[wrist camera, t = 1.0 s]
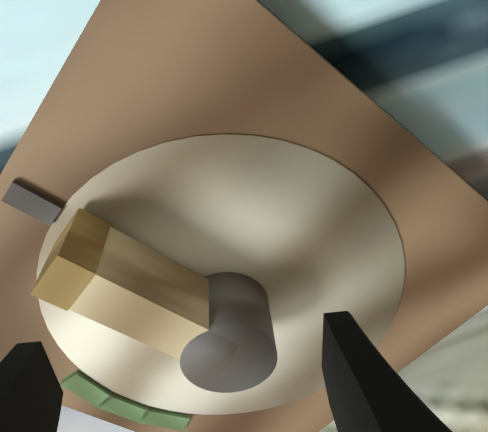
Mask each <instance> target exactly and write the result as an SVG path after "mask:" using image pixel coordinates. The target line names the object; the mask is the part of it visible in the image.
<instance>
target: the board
mask: <svg viewBox="0 0 488 432" xmlns="http://www.w3.org/2000/svg"><path fill="white" fill-rule="evenodd" d="M78 208H81V209H83V210H85V211H87V212H88V213H90V214H92V215H94V216H96V217H98V218H99V219H101V220H103V221H105V222H107V223H109V224H110V225H111V227H112V228H114V229H116V230H118V231H120V232H122V233H123V234H125V235H127V236H129V237H131V238H133V239H134V240H136V241H138V242H140V243H142V244H144V245H145V246H147V247H149V248H151V249H153V250H155V251H157V252H158V253H160V254H162V255H164V256H166V257H168V258H169V259H171V260H173V261H175V262H177V263H179V264H180V265H182V266H184V267H186V268H188V269H190V270H192V271H193V272H195V273H197V274H199V275H201V276H203V277H206V276H208V275H212V274H216V273H222V272H233V273H240V274H243V275H246V276H249V277H251V278H253V279H254V280H256V281H257V282H258V283H260V284H261V286H262V287H263V288H264V290H265V291H266V294H267V297H268V302H269V308H270V314H271V320H272V326H273V332H274V337H275V343H276V349H277V358H278V359H277V364H276V367H275V369H274V371H273V372H272V374H271V375H270V376H269V377H268V378H267V379H266V380H265V381H263V382H262V383H260V384H259V385H257V386H255V387H253V388H250V389H247V390H244V391H239V392H232V393H218V392H212V391H208V390H204V389H202V388H199V387H197V386H196V385H194V384H192V383H191V382H190V381H189V380H188V379H187V378H186V377H185V376H184V374H183V373H182V370H181V367H180V359H178V358H175V357H173V356H171V355H169V354H166V353H164V352H162V351H160V350H158V349H155V348H153V347H151V346H149V345H146V344H144V343H142V342H140V341H137V340H135V339H133V338H131V337H129V336H126V335H124V334H122V333H120V332H117V331H115V330H113V329H111V328H109V327H106V326H104V325H102V324H100V323H97V322H95V321H93V320H91V319H88V318H86V317H84V316H82V315H80V314H77V313H75V312H73V311H71V310H67V311H66V310H63V309H61V308H59V307H57V306H54V305H52V304H50V303H48V302H45V301H43V300H41V299H39V298H36V297H34V296H32V295H30V293H31V291H32V289H33V287H34V285H35V283H36V281H37V279H38V277H39V274H40V272H41V270H42V268H43V266H44V264H45V262H46V260H47V258H48V256H49V253H50V251H51V249H52V247H53V245H54V243H55V242H56V240H57V239H58V237H59V236H60V234H61V233H62V231H63V230H64V229H65V227H66V226H67V224H68V223H69V221H70V220H71V218H72V217H73V216H74V214H75V213H76V211H77V210H78ZM487 305H488V200H487V199H485V198H484V197H483V196H482V195H481V194H480V193H479V192H477V191H476V190H475V189H474V188H473V187H472V186H471V185H469V184H468V183H467V182H466V181H465V180H464V179H463V178H461V177H460V176H459V175H458V174H457V173H456V172H454V171H453V170H452V169H451V168H450V167H449V166H448V165H446V164H445V163H444V162H443V161H442V160H441V159H440V158H438V157H437V156H436V155H435V154H434V153H433V152H432V151H430V150H429V149H428V148H427V147H426V146H425V145H424V144H422V143H421V142H420V141H419V140H418V139H417V138H415V137H414V136H413V135H412V134H411V133H410V132H409V131H407V130H406V129H405V128H404V127H403V126H402V125H401V124H399V123H398V122H397V121H396V120H395V119H394V118H393V117H391V116H390V115H389V114H388V113H387V112H386V111H384V110H383V109H382V108H381V107H380V106H379V105H378V104H376V103H375V102H374V101H373V100H372V99H371V98H370V97H368V96H367V95H366V94H365V93H364V92H363V91H362V90H360V89H359V88H358V87H357V86H356V85H355V84H353V83H352V82H351V81H350V80H349V79H348V78H347V77H345V76H344V75H343V74H342V73H341V72H340V71H339V70H337V69H336V68H335V67H334V66H333V65H332V64H331V63H329V62H328V61H327V60H326V59H325V58H324V57H322V56H321V55H320V54H319V53H318V52H317V51H316V50H314V49H313V48H312V47H311V46H310V45H309V44H308V43H306V42H305V41H304V40H303V39H302V38H301V37H300V36H298V35H297V34H296V33H295V32H294V31H293V30H291V29H290V28H289V27H288V26H287V25H286V24H285V23H283V22H282V21H281V20H280V19H279V18H278V17H277V16H275V15H274V14H273V13H272V12H271V11H270V10H269V9H267V8H266V7H265V6H264V5H263V4H262V3H261V2H259V1H258V0H101V1H100V2H99V4H98V6H97V8H96V9H95V11H94V13H93V15H92V16H91V18H90V20H89V21H88V23H87V25H86V27H85V28H84V30H83V32H82V34H81V35H80V37H79V39H78V41H77V42H76V44H75V46H74V48H73V49H72V51H71V53H70V55H69V56H68V58H67V60H66V61H65V63H64V65H63V67H62V68H61V70H60V72H59V74H58V75H57V77H56V79H55V81H54V82H53V84H52V86H51V88H50V89H49V91H48V93H47V95H46V96H45V98H44V100H43V102H42V103H41V105H40V107H39V108H38V110H37V112H36V114H35V115H34V117H33V119H32V121H31V122H30V124H29V126H28V128H27V129H26V131H25V133H24V135H23V136H22V138H21V140H20V142H19V143H18V145H17V147H16V148H15V150H14V152H13V154H12V155H11V157H10V159H9V161H8V162H7V164H6V166H5V168H4V169H3V171H2V173H1V175H0V362H1V361H2V360H3V359H4V357H5V356H6V355H7V354H8V353H9V352H10V351H11V349H12V348H13V347H14V346H15V345H16V344H17V343H27V342H37V341H41V342H42V345H43V347H44V349H45V352H46V354H47V356H48V358H49V361H50V363H51V365H52V367H53V370H54V372H55V374H56V377H57V379H58V381H59V383H60V386H61V388H62V390H63V399H62V405H63V406H66V407H69V408H71V409H74V410H77V411H80V412H82V413H85V414H88V415H91V416H94V417H96V418H99V419H102V420H105V421H107V422H110V423H113V424H116V425H118V426H121V427H124V428H127V429H129V430H132V431H135V432H318V431H320V430H321V429H322V428H324V427H325V426H326V425H328V424H329V423H330V422H332V421H333V420H334V418H333V414H332V411H331V408H330V405H329V400H328V396H327V391H326V386H325V381H324V376H323V372H322V367H321V365H322V340H323V315H324V313H330V312H340V311H348V312H349V313H351V314H352V316H353V317H354V319H355V320H356V322H357V323H358V325H359V326H360V327H361V329H362V330H363V332H364V333H365V334H366V336H367V337H368V338H369V340H370V341H371V342H372V343H373V345H374V346H375V347H376V349H377V350H378V351H379V352H380V354H381V355H382V356H383V357H384V359H385V360H386V361H387V362H388V363H389V365H390V366H391V367H392V368H393V369H394V370H395V372H396V373H397V372H399V371H400V370H401V369H403V368H404V367H406V366H407V365H408V364H410V363H411V362H412V361H414V360H415V359H416V358H418V357H419V356H420V355H422V354H423V353H424V352H426V351H427V350H428V349H430V348H431V347H432V346H434V345H435V344H436V343H438V342H439V341H440V340H442V339H443V338H444V337H446V336H447V335H448V334H450V333H451V332H452V331H454V330H455V329H456V328H458V327H459V326H460V325H462V324H463V323H464V322H466V321H467V320H469V319H470V318H471V317H473V316H474V315H475V314H477V313H478V312H479V311H481V310H482V309H483V308H485V307H486V306H487Z"/></svg>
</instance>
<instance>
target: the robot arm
mask: <svg viewBox="0 0 488 432" xmlns="http://www.w3.org/2000/svg"><path fill="white" fill-rule="evenodd" d="M321 367H322V372H323V376H324V381H325V386H326V391H327V396H328V400H329V405H330V408H331V411H332V414H333V418H334V421H335V424H336V427H337V430H338V432H452V431H451V430H450V429H449V428H448V427H447V426H446V425H445V424H444V423H443V422H442V421H441V420H440V419H439V418H438V417H437V416H436V415H435V414H434V413H433V412H432V411H431V410H430V409H429V408H428V407H427V406H426V405H425V404H424V403H423V402H422V401H421V400H420V399H419V398H418V396H417V395H416V394H415V393H414V392H413V391H412V390H411V389H410V388H409V387H408V385H407V384H406V383H405V382H404V381H403V380H402V379H401V377H400V376H399V375H398V374H397V373H396V372H395V370H394V369H393V368H392V367H391V366H390V365H389V363H388V362H387V361H386V360H385V359H384V357H383V356H382V355H381V354H380V352H379V351H378V350H377V349H376V347H375V346H374V345H373V343H372V342H371V341H370V340H369V338H368V337H367V336H366V334H365V333H364V332H363V330H362V329H361V327H360V326H359V325H358V323H357V322H356V320H355V319H354V317H353V316H352V314H351V313H349V312H348V311H340V312H330V313H324V315H323V340H322V365H321ZM62 399H63V390H62V388H61V386H60V383H59V381H58V379H57V377H56V374H55V372H54V370H53V367H52V365H51V363H50V361H49V358H48V356H47V354H46V352H45V349H44V347H43V345H42V342H41V341H37V342H27V343H17V344H16V345H15V346H14V347H13V348H12V349H11V351H10V352H9V353H8V354H7V355H6V356H5V357H4V359H3V360H2V361H1V362H0V432H57V427H58V422H59V416H60V411H61V405H62Z"/></svg>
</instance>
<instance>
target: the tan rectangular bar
mask: <svg viewBox="0 0 488 432" xmlns="http://www.w3.org/2000/svg"><path fill="white" fill-rule="evenodd" d="M30 295H32V296H34V297H36V298H39V299H41V300H43V301H45V302H48V303H50V304H52V305H54V306H57V307H59V308H61V309H63V310H66V311H67V310H71V311H73V312H75V313H77V314H80V315H82V316H84V317H86V318H88V319H91V320H93V321H95V322H97V323H100V324H102V325H104V326H106V327H109V328H111V329H113V330H115V331H117V332H120V333H122V334H124V335H126V336H129V337H131V338H133V339H135V340H137V341H140V342H142V343H144V344H146V345H149V346H151V347H153V348H155V349H158V350H160V351H162V352H164V353H166V354H169V355H171V356H173V357H175V358H178V359H180V367H181V370H182V373H183V374H184V376H185V377H186V378H187V379H188V380H189V381H190V382H191V383H192V384H194V385H196V386H197V387H199V388H202V389H204V390H208V391H212V392H218V393H232V392H239V391H244V390H247V389H250V388H253V387H255V386H257V385H259V384H260V383H262V382H263V381H265V380H266V379H267V378H268V377H269V376H270V375H271V374H272V372H273V371H274V369H275V367H276V364H277V359H278V358H277V349H276V343H275V337H274V332H273V326H272V320H271V314H270V308H269V302H268V297H267V294H266V291H265V290H264V288H263V287H262V286H261V284H260V283H258V282H257V281H256V280H254V279H253V278H251V277H249V276H246V275H243V274H240V273H233V272H222V273H216V274H212V275H208V276H206V277H203V276H201V275H199V274H197V273H195V272H193V271H192V270H190V269H188V268H186V267H184V266H182V265H180V264H179V263H177V262H175V261H173V260H171V259H169V258H168V257H166V256H164V255H162V254H160V253H158V252H157V251H155V250H153V249H151V248H149V247H147V246H145V245H144V244H142V243H140V242H138V241H136V240H134V239H133V238H131V237H129V236H127V235H125V234H123V233H122V232H120V231H118V230H116V229H114V228H112V227H111V225H110V224H109V223H107V222H105V221H103V220H101V219H99V218H98V217H96V216H94V215H92V214H90V213H88V212H87V211H85V210H83V209H81V208H78V210H77V211H76V213H75V214H74V216H73V217H72V218H71V220H70V221H69V223H68V224H67V226H66V227H65V229H64V230H63V231H62V233H61V234H60V236H59V237H58V239H57V240H56V242H55V243H54V245H53V247H52V249H51V251H50V253H49V256H48V258H47V260H46V262H45V264H44V266H43V268H42V270H41V272H40V274H39V277H38V279H37V281H36V283H35V285H34V287H33V289H32V291H31V293H30Z"/></svg>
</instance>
